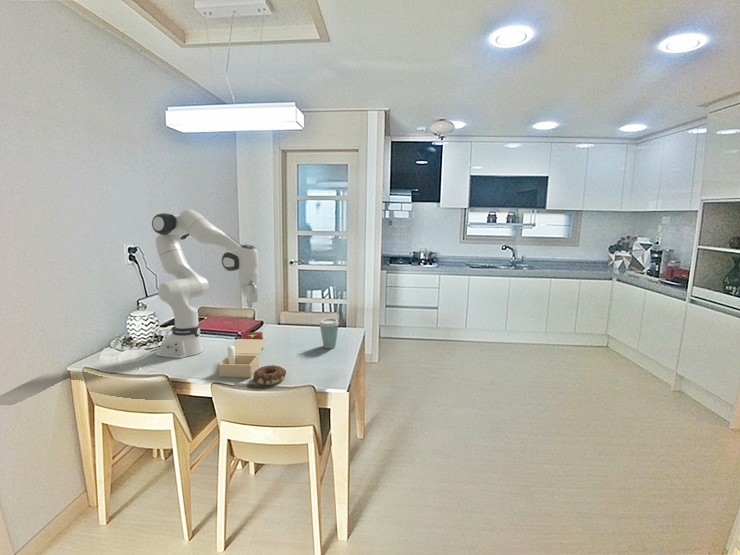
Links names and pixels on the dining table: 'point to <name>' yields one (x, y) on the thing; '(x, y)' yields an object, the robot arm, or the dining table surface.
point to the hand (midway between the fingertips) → (249, 307)
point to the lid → (248, 346)
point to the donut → (269, 375)
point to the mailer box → (238, 365)
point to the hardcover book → (252, 336)
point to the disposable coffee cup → (329, 332)
